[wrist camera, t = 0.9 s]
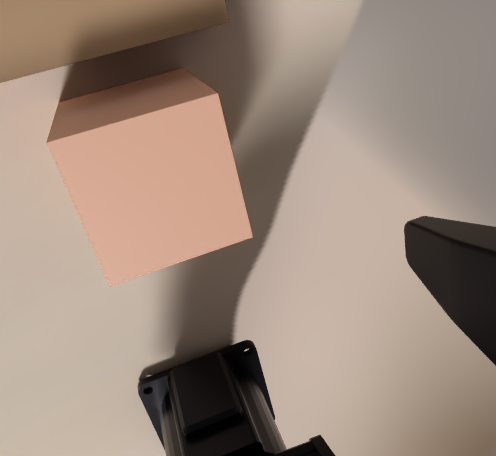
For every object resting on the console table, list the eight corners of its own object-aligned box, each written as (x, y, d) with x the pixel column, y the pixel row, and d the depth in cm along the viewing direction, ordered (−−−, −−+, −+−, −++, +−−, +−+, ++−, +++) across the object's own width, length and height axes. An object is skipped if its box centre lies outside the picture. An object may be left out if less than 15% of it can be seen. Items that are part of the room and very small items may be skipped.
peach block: (213, 179, 21) (252, 237, 16) (104, 214, 21) (110, 286, 15) (182, 67, 19) (217, 92, 14) (58, 102, 18) (46, 143, 13)
